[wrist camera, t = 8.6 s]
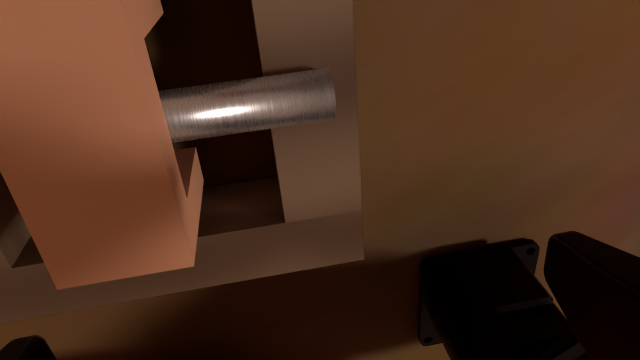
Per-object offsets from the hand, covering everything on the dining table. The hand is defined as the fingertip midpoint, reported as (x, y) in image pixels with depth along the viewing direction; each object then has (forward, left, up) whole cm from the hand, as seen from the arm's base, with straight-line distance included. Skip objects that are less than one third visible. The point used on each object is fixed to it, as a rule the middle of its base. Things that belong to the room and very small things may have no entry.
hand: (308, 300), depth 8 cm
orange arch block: (+1, +5, -11) cm, 12 cm away
